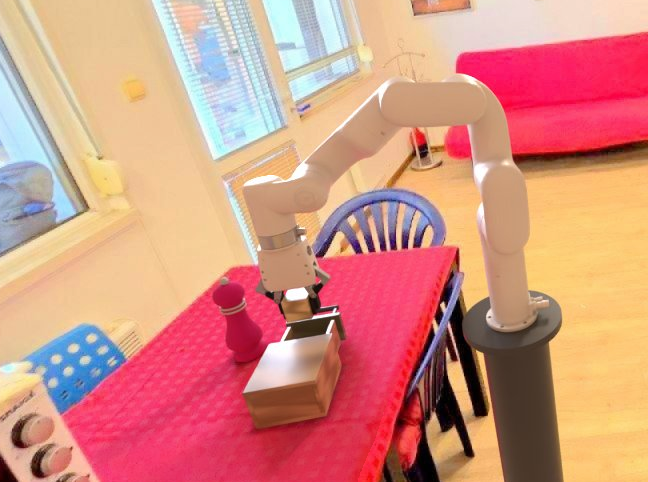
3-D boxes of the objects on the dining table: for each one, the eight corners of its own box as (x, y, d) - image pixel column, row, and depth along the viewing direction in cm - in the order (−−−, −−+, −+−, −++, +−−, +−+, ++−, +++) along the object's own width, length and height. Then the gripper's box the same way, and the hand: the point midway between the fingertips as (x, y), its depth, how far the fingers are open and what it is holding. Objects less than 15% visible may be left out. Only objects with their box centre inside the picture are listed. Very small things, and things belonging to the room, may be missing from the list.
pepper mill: (225, 360, 117) (195, 284, 110) (252, 341, 124) (226, 267, 116) (247, 366, 115) (218, 288, 107) (275, 346, 121) (249, 271, 114)
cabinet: (280, 377, 111) (269, 343, 108) (342, 366, 112) (332, 332, 109) (255, 429, 97) (242, 393, 94) (326, 416, 99) (315, 380, 96)
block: (318, 305, 114) (312, 286, 112) (312, 318, 109) (306, 298, 108) (294, 309, 113) (287, 290, 112) (287, 323, 109) (280, 302, 107)
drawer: (303, 327, 126) (296, 303, 123) (352, 319, 127) (346, 295, 125) (276, 386, 107) (266, 359, 104) (334, 375, 108) (326, 348, 106)
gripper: (327, 223, 109) (347, 297, 116) (241, 235, 107) (266, 310, 114) (319, 238, 102) (340, 316, 109) (226, 252, 100) (253, 330, 107)
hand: (302, 312), depth 111 cm, fingers closed on block, 5 cm apart
